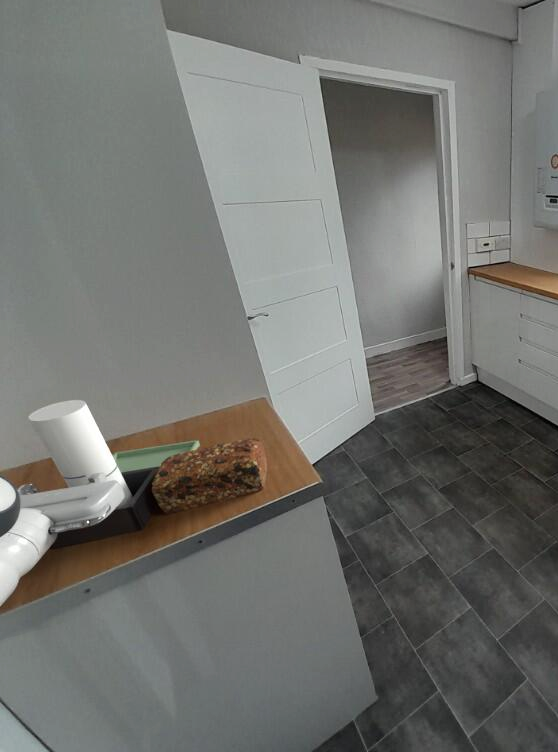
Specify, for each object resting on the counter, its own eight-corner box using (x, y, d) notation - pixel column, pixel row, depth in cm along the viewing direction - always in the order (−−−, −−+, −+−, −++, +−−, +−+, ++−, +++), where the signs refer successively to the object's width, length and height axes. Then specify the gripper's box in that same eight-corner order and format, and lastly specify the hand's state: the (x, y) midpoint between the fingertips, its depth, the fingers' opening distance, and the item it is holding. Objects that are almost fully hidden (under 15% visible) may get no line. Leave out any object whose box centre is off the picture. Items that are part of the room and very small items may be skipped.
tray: (82, 499, 87) (79, 493, 86) (117, 458, 100) (114, 452, 99) (179, 482, 92) (176, 476, 92) (200, 445, 105) (198, 439, 105)
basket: (50, 549, 75) (35, 524, 73) (88, 502, 86) (77, 479, 84) (143, 530, 80) (132, 506, 77) (168, 488, 91) (159, 466, 88)
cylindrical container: (100, 508, 85) (42, 404, 74) (142, 499, 87) (93, 397, 76) (83, 533, 79) (18, 424, 68) (130, 522, 81) (74, 416, 71)
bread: (270, 465, 98) (260, 430, 94) (265, 494, 89) (254, 457, 85) (176, 485, 91) (160, 449, 87) (161, 518, 82) (142, 480, 78)
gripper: (91, 507, 62) (133, 455, 74) (-100, 542, 55) (-21, 478, 67) (107, 538, 64) (144, 483, 76) (-74, 574, 58) (-2, 508, 70)
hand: (66, 481), depth 72 cm, fingers open, 8 cm apart
